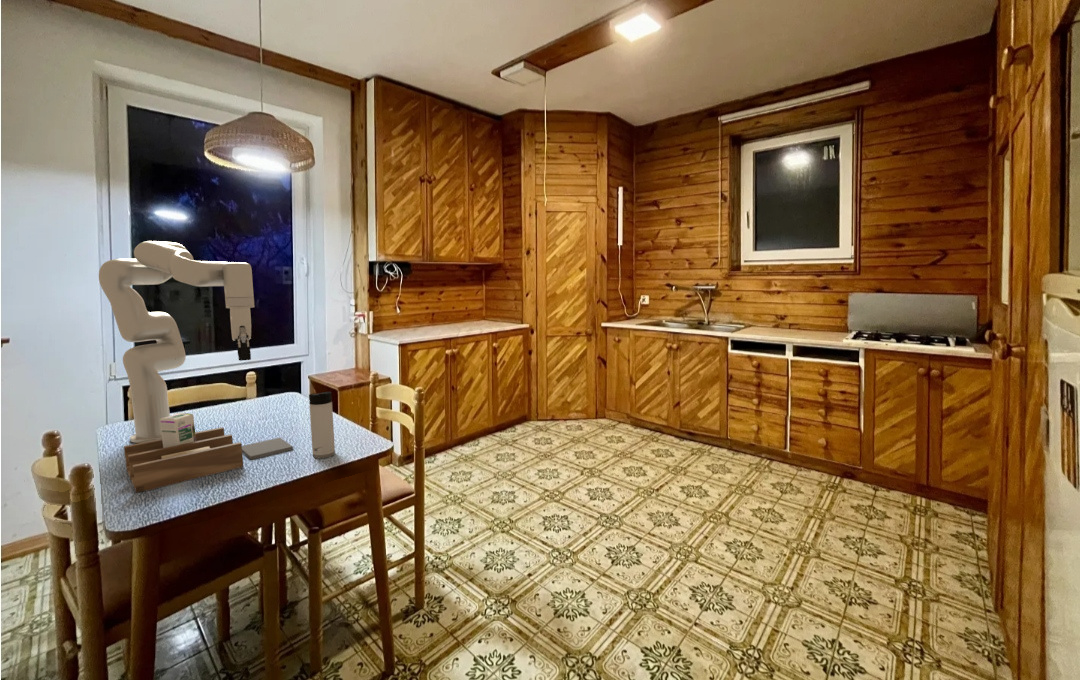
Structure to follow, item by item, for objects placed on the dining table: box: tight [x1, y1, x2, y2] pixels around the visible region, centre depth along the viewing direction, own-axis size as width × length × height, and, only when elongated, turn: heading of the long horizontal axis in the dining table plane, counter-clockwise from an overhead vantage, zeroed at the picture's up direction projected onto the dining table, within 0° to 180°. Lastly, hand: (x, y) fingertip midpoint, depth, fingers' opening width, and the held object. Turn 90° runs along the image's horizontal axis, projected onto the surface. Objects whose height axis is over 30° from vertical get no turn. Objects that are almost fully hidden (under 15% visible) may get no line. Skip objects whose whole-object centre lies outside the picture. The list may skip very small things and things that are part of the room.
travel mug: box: [308, 391, 336, 460], centre depth 148 cm, size 6×7×20 cm
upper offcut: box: [161, 446, 210, 459], centre depth 135 cm, size 6×11×3 cm, turn 134°
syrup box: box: [160, 412, 196, 448], centre depth 142 cm, size 6×6×14 cm
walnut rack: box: [123, 426, 244, 493], centre depth 139 cm, size 21×24×7 cm
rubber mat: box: [242, 437, 294, 460], centre depth 154 cm, size 12×12×1 cm
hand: (244, 357), depth 152 cm, fingers open, 9 cm apart
